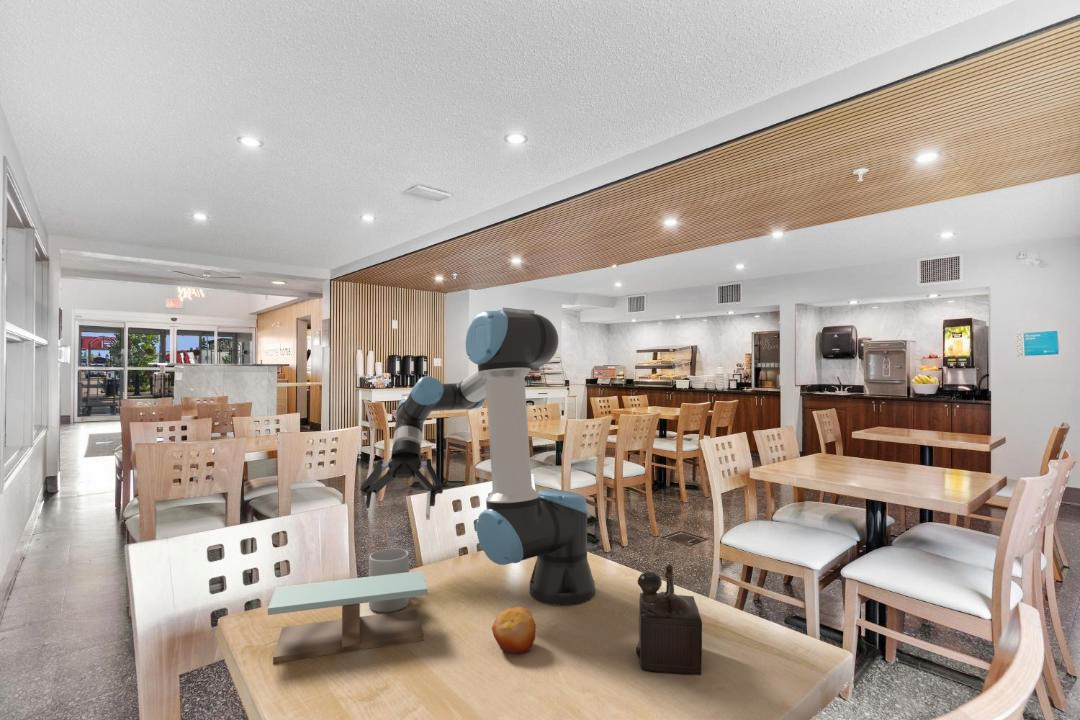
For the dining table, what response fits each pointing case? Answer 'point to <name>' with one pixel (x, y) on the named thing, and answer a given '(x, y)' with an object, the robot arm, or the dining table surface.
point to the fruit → (514, 630)
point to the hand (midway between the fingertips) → (399, 518)
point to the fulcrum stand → (347, 634)
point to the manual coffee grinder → (668, 628)
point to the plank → (347, 592)
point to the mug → (385, 565)
